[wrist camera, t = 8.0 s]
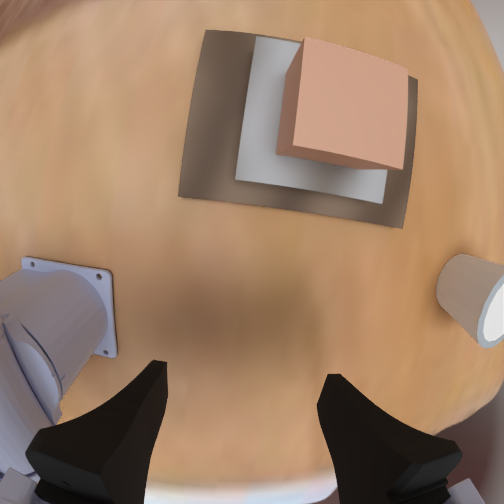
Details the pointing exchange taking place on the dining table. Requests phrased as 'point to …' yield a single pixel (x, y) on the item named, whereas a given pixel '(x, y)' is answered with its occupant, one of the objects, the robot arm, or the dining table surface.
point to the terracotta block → (344, 108)
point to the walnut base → (225, 133)
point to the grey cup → (474, 297)
